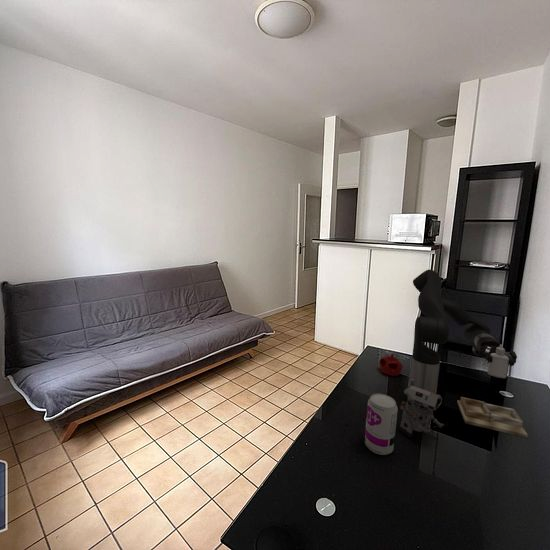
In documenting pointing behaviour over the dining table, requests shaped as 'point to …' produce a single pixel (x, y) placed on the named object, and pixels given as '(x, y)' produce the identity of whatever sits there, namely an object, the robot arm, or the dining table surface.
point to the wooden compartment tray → (491, 416)
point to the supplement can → (381, 424)
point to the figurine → (419, 410)
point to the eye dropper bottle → (498, 363)
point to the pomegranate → (390, 365)
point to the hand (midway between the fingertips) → (501, 361)
